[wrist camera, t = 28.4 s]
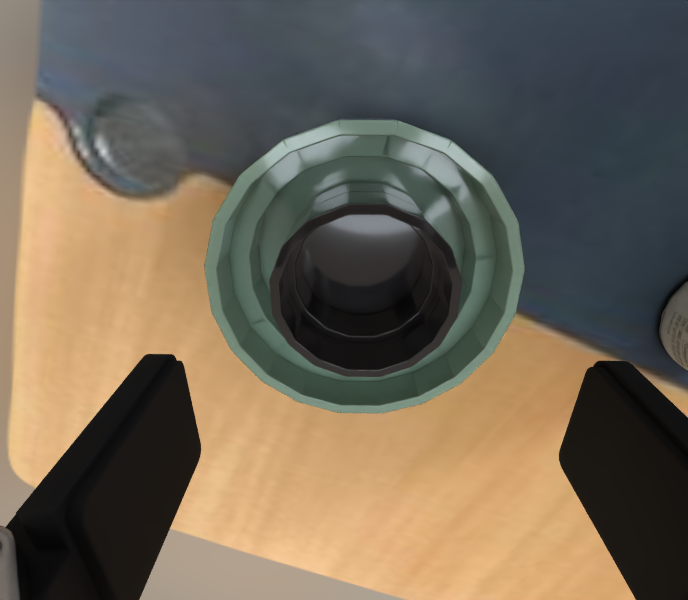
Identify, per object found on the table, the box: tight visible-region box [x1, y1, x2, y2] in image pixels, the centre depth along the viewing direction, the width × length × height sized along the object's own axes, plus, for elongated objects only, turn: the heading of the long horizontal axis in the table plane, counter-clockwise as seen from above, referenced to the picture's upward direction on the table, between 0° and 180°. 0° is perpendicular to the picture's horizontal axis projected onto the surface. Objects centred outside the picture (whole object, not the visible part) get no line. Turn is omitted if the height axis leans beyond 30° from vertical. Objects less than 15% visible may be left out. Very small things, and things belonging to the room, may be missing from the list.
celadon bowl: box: [204, 118, 525, 413], centre depth 19 cm, size 13×13×4 cm
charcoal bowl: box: [269, 183, 463, 377], centre depth 18 cm, size 7×7×5 cm
